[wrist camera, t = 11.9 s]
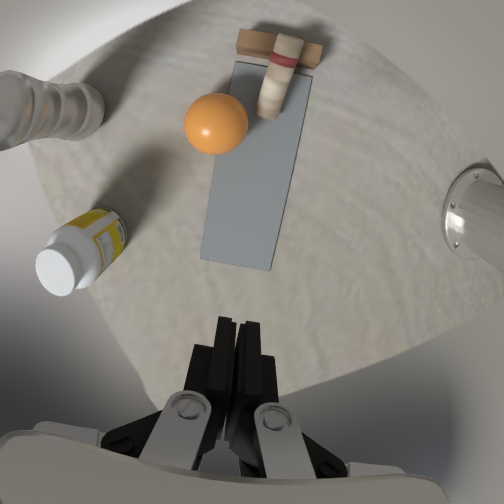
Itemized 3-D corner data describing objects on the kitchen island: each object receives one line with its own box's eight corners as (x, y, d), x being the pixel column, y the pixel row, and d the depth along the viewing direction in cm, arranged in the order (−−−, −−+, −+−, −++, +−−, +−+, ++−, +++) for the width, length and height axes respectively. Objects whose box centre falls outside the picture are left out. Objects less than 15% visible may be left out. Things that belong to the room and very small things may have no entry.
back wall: (316, 53, 26) (322, 45, 23) (313, 69, 27) (319, 62, 24) (241, 37, 26) (240, 28, 23) (237, 54, 26) (235, 45, 24)
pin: (277, 112, 29) (302, 38, 22) (279, 122, 27) (306, 43, 21) (253, 106, 28) (276, 31, 22) (253, 116, 27) (278, 35, 20)
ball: (199, 111, 21) (252, 154, 25) (223, 70, 24) (267, 110, 27) (162, 140, 26) (210, 174, 29) (186, 99, 28) (227, 132, 31)
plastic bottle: (85, 76, 26) (-45, 50, 8) (122, 105, 28) (-11, 88, 9) (56, 120, 28) (-76, 132, 9) (90, 151, 30) (-45, 182, 11)
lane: (311, 77, 27) (311, 77, 27) (269, 270, 35) (269, 271, 35) (235, 62, 27) (235, 61, 27) (200, 258, 34) (199, 259, 34)
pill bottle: (75, 222, 33) (18, 257, 22) (111, 195, 32) (55, 224, 21) (101, 265, 35) (54, 314, 24) (139, 243, 34) (95, 290, 23)
